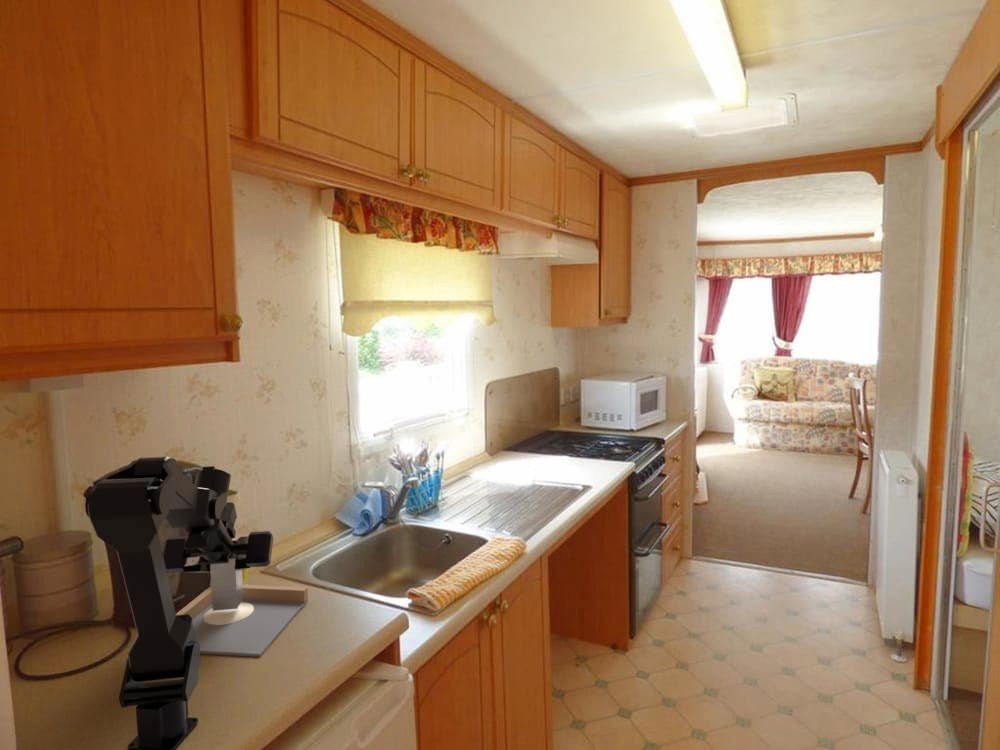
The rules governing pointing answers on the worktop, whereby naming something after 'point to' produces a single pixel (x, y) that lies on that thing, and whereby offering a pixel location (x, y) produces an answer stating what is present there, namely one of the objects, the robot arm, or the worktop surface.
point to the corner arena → (245, 619)
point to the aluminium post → (226, 584)
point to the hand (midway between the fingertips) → (228, 568)
